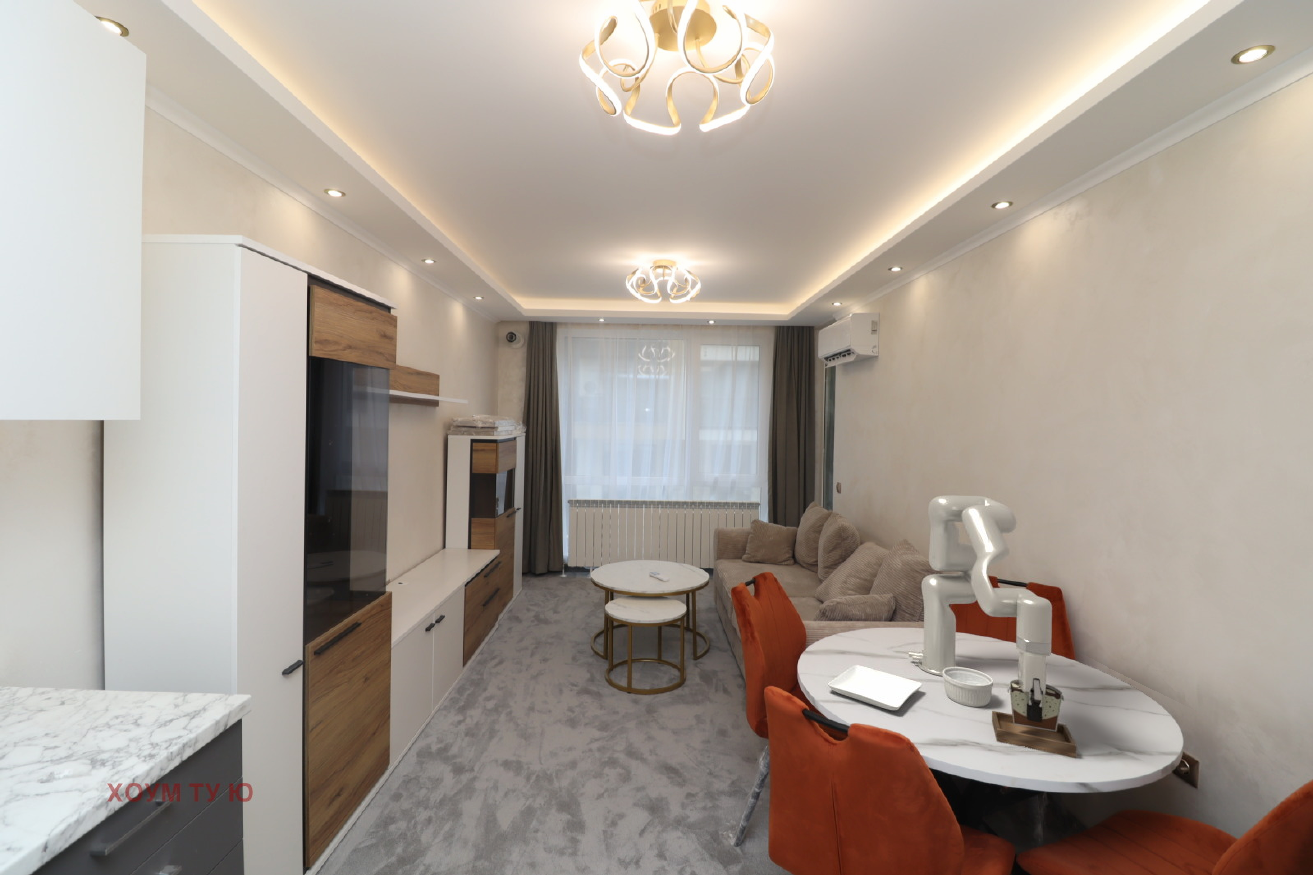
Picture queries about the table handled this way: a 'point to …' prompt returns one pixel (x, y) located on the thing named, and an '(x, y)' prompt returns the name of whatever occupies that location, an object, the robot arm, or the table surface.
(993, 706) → the table surface
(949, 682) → the ramekin
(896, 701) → the salad plate
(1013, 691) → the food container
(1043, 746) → the tray
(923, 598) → the robot arm
